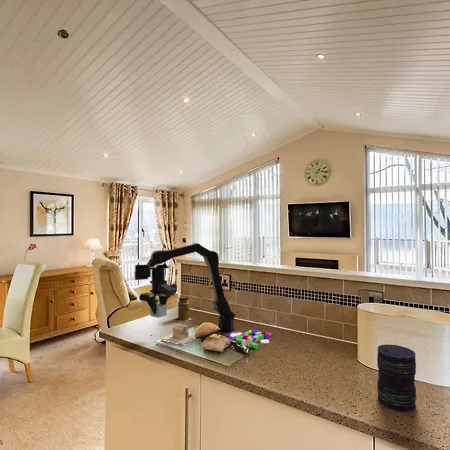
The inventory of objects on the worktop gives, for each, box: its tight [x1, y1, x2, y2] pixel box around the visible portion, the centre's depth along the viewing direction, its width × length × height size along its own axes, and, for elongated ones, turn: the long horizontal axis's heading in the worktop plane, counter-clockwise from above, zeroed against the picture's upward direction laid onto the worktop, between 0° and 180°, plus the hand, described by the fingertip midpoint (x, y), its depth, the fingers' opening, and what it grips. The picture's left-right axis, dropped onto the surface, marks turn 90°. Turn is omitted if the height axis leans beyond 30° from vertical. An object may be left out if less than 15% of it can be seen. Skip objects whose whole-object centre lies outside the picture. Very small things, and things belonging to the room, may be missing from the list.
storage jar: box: [376, 344, 417, 413], centre depth 92 cm, size 10×10×15 cm
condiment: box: [172, 296, 192, 323], centre depth 174 cm, size 7×8×12 cm
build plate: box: [160, 332, 195, 346], centre depth 144 cm, size 12×12×1 cm
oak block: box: [172, 324, 189, 339], centre depth 144 cm, size 5×5×4 cm
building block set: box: [225, 329, 273, 350], centre depth 143 cm, size 25×20×4 cm
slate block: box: [150, 303, 168, 319], centre depth 145 cm, size 5×5×4 cm
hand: (158, 312), depth 145 cm, fingers closed on slate block, 5 cm apart
